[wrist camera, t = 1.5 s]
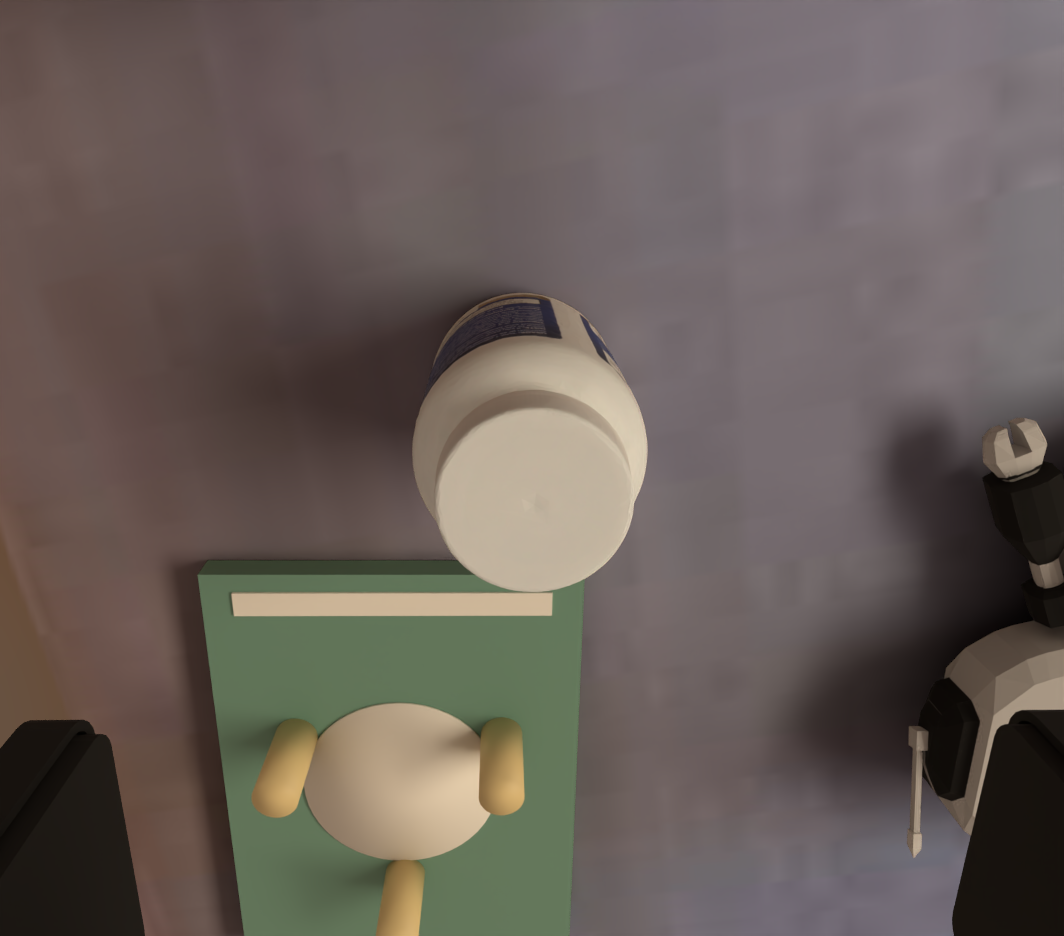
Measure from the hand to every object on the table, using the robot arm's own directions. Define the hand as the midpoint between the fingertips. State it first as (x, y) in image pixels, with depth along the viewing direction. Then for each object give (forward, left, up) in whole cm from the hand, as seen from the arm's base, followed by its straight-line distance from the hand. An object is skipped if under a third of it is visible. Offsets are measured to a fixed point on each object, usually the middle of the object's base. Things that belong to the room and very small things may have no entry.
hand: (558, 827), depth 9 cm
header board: (+14, -4, -18) cm, 23 cm away
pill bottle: (0, 0, -18) cm, 18 cm away
